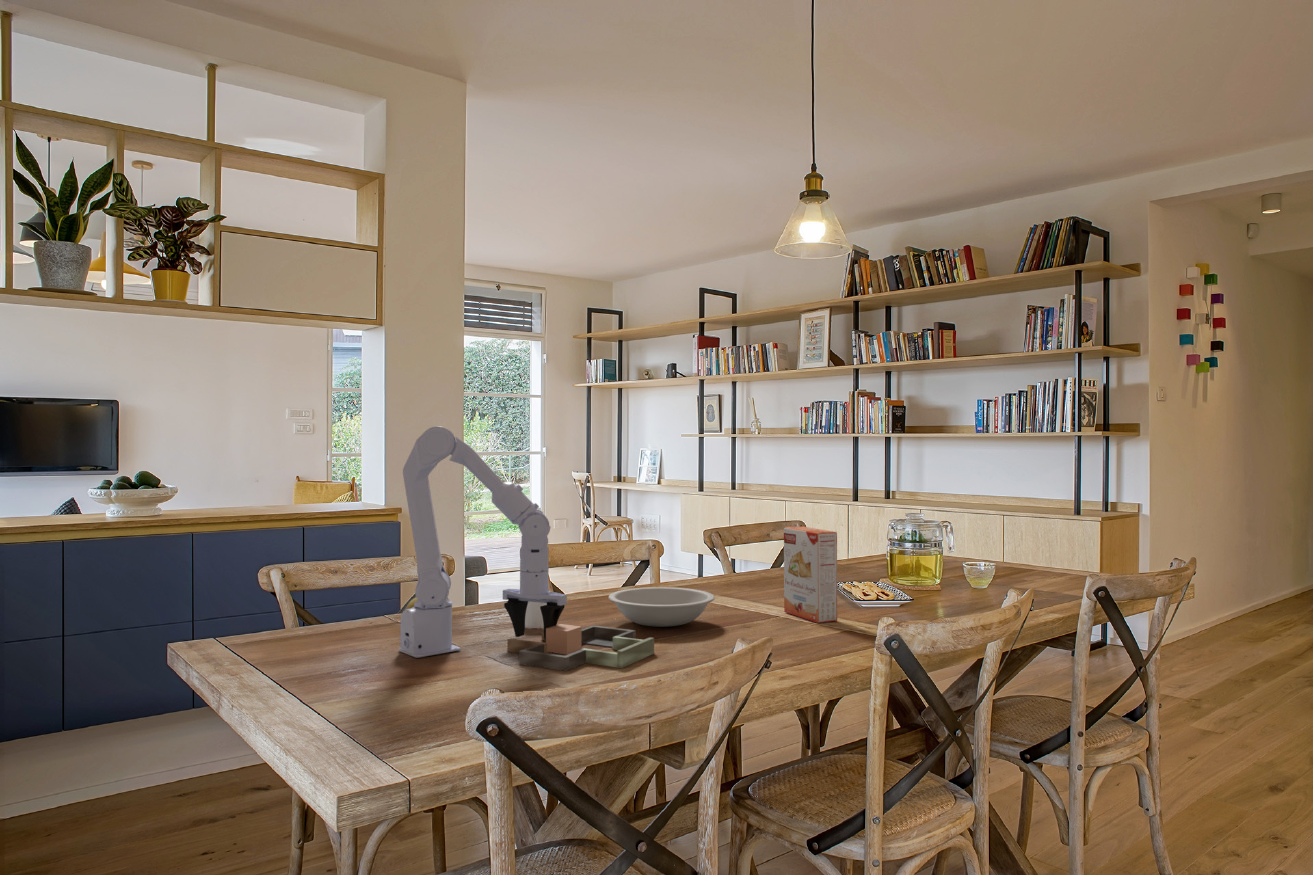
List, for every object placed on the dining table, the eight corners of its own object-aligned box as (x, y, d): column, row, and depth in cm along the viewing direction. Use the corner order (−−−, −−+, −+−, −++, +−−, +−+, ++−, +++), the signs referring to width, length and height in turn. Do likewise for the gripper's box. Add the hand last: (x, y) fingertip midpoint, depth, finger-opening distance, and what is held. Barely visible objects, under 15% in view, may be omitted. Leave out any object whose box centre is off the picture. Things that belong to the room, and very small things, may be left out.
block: (545, 651, 166) (546, 628, 166) (560, 646, 170) (560, 623, 170) (567, 654, 163) (567, 631, 163) (581, 649, 168) (581, 626, 168)
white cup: (553, 622, 192) (553, 592, 192) (546, 629, 186) (546, 597, 186) (524, 622, 193) (524, 591, 193) (516, 628, 186) (516, 597, 186)
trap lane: (486, 658, 160) (486, 642, 160) (562, 632, 182) (562, 618, 182) (603, 676, 148) (603, 659, 148) (669, 646, 170) (669, 631, 170)
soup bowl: (717, 637, 178) (717, 605, 179) (604, 636, 179) (604, 605, 179) (712, 614, 202) (712, 587, 203) (612, 614, 203) (612, 586, 203)
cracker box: (782, 612, 205) (782, 526, 205) (803, 610, 207) (803, 525, 207) (816, 623, 192) (816, 531, 192) (838, 621, 195) (838, 530, 195)
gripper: (575, 570, 170) (575, 637, 170) (517, 565, 177) (517, 630, 177) (555, 574, 164) (555, 644, 164) (496, 569, 171) (495, 637, 171)
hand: (534, 637), depth 170 cm, fingers open, 7 cm apart
